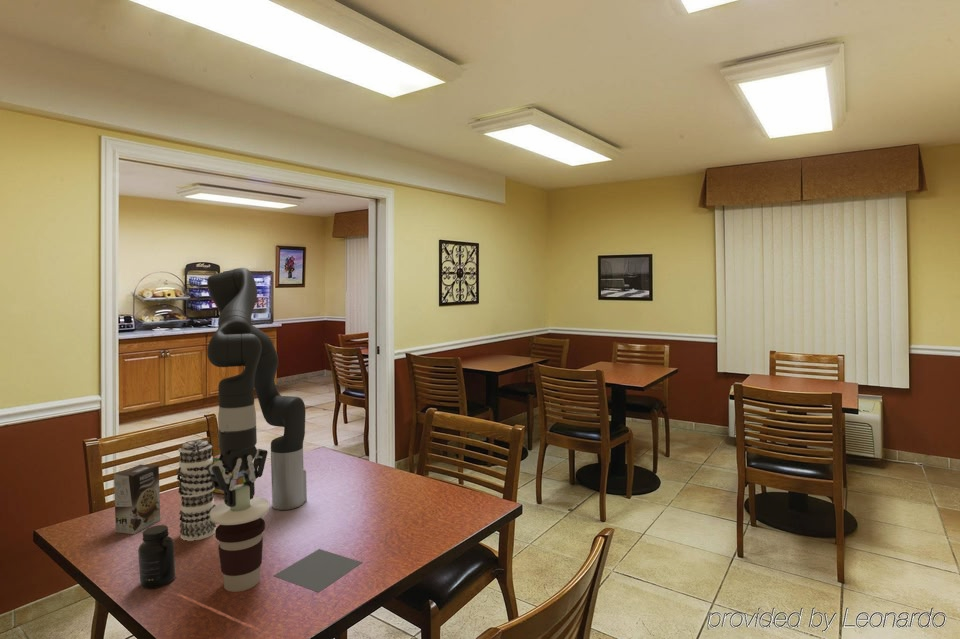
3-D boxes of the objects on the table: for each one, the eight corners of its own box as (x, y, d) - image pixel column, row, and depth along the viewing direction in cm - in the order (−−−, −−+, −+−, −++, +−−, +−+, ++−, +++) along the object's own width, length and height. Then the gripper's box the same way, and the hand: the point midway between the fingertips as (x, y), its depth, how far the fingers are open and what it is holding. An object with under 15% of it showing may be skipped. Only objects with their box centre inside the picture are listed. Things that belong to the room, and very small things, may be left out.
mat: (319, 551, 131) (319, 548, 131) (362, 564, 124) (362, 562, 124) (273, 578, 119) (273, 575, 119) (318, 594, 112) (318, 592, 112)
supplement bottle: (150, 574, 121) (148, 523, 120) (181, 572, 121) (179, 521, 121) (133, 591, 114) (130, 537, 113) (165, 589, 114) (163, 535, 114)
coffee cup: (276, 577, 119) (274, 512, 118) (243, 601, 110) (241, 531, 109) (241, 569, 122) (239, 506, 122) (206, 592, 113) (204, 524, 112)
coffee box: (134, 534, 140) (132, 475, 139) (114, 532, 142) (112, 474, 141) (161, 520, 149) (159, 464, 148) (142, 518, 151) (140, 463, 150)
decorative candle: (225, 527, 145) (222, 437, 143) (202, 542, 136) (198, 447, 134) (195, 524, 146) (192, 436, 145) (170, 540, 137) (167, 446, 136)
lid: (245, 498, 123) (245, 474, 123) (281, 508, 118) (280, 483, 117) (197, 517, 113) (196, 492, 112) (234, 529, 107) (233, 502, 107)
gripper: (253, 416, 122) (255, 488, 123) (195, 430, 110) (198, 511, 111) (276, 420, 119) (278, 494, 120) (218, 435, 106) (221, 518, 107)
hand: (239, 502), depth 115 cm, fingers closed on lid, 4 cm apart
